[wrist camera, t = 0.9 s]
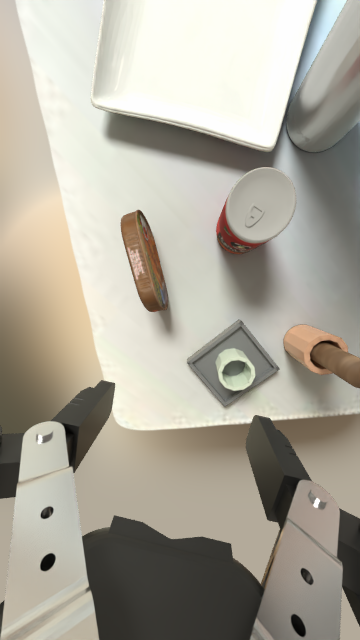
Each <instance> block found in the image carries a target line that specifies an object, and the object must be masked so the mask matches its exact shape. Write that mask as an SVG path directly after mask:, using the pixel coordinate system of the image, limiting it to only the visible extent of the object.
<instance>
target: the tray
mask: <svg viewBox="0 0 360 640" xmlns="http://www.w3.org/2000/svg"><path fill="white" fill-rule="evenodd" d="M232 348H235V349H238V350H240V351H243V352H244V354H245V355H246V356H247V357H248V359H249V360H250V362H251V363H252V364H253V366H254V368H255V378H254V380H253V382H252V384H251V385H250V386H248V387H247V388H245V389H244V390H236V391H233V390H231V389H228V388H225V387H224V385H223V384H222V383H221V382H220V381H219V377H218V374H217V370H216V363H215V362H216V360H217V357H218V355H219V354H220V353H222V352H223V351H224V350H226V349H232ZM187 363H188V364H189V366H190V367H191V368H192V369H193V370H194V371H195V373H196V374H197V375H198V376H199V377H200V378H201V380H202V381H203V382H204V383H205V384H206V385H207V387H208V388H209V389H210V390H211V391H212V392H213V394H214V395H215V396H216V397H217V398H218V399H219V401H220V402H221V403H222V404H223V405H224V406H227V405H228V404H230V403H231V402H232V401H234V400H235V399H237V398H238V397H240V396H241V395H243V394H244V393H246V392H247V391H248V390H250V389H251V388H253V387H254V386H256V385H257V384H259V383H260V382H262V381H263V380H264V379H266V378H267V377H269V376H270V375H272V374H273V373H275V372H276V371H278V370H279V367H278V366H277V365H276V364H275V362H274V361H273V360H272V359H271V357H270V356H269V355H268V354H267V352H266V351H265V350H264V349H263V347H262V346H261V345H260V344H259V342H258V341H257V340H256V339H255V337H254V336H253V335H252V334H251V332H250V331H249V330H248V329H247V327H246V326H245V325H244V323H243V322H242V321H241V320H240V319H239V320H238V321H236V322H235V323H234V324H232V325H231V326H230V327H228V328H227V329H226V330H224V331H223V332H222V333H221V334H219V335H218V336H217V337H215V338H214V339H213V340H211V341H210V342H209V343H207V344H206V345H205V346H204V347H202V348H201V349H200V350H198V351H197V352H196V353H194V354H193V355H192V356H190V357H189V358H188V359H187ZM244 367H245V362H243V361H240V360H235V361H230V362H229V363H228V364H226V365H225V366H224V369H223V371H222V372H223V373H224V374H226V375H228V376H235V375H238V374H240V373H241V372H242V371H243V369H244Z"/></svg>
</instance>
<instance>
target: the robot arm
mask: <svg viewBox="0 0 360 640" xmlns="http://www.w3.org/2000/svg"><path fill="white" fill-rule="evenodd" d="M286 121H287V130H288V133H289V136H290V138H291V140H292V141H293V142H294V144H295V145H296V146H298V147H299V148H300V149H302V150H305V151H307V152H321V151H324V150H327V149H329V148H330V147H332V146H334V145H335V144H336V143H337V142H338V141H339V140H341V139H342V138H343V137H344V136H345V135H346V134H347V133H348V132H349V131H350V130H351V129H352V128H353V127H354V126H355V125H356V124H357V123H358V122H359V121H360V0H347V1H346V3H345V5H344V7H343V9H342V11H341V12H340V14H339V16H338V18H337V20H336V21H335V23H334V25H333V27H332V29H331V31H330V32H329V34H328V36H327V38H326V40H325V41H324V43H323V45H322V47H321V49H320V51H319V52H318V54H317V56H316V58H315V60H314V61H313V63H312V65H311V67H310V69H309V71H308V72H307V74H306V76H305V78H304V79H303V81H302V83H301V85H300V87H299V89H298V90H297V92H296V94H295V96H294V98H293V100H292V102H291V104H290V106H289V109H288V112H287V120H286ZM114 390H115V383H112V382H107V381H103V380H101V381H100V382H99V383H98V384H97V386H96V387H95V388H91V387H89V388H87V389H84V390H82V391H81V392H80V393H79V394H78V395H76V397H75V398H74V399H72V400H71V401H70V403H69V404H67V405H66V406H65V408H63V409H62V410H61V411H60V412H59V413H58V414H57V415H56V416H55V417H54V418H53V419H52V420H51V421H50V422H43V423H40V424H37V425H35V426H33V427H31V428H30V429H29V430H28V431H27V432H26V433H20V434H2V427H1V426H0V499H1V498H10V497H16V500H15V509H14V518H13V527H12V537H11V547H10V555H9V565H8V574H7V583H6V592H5V600H4V601H3V602H2V603H1V604H0V640H340V620H341V619H340V618H341V596H342V588H343V590H344V592H345V594H346V597H347V599H348V601H349V603H350V606H351V608H352V610H353V612H354V615H355V617H356V619H357V622H358V624H359V626H360V519H359V518H357V517H355V516H353V515H351V514H349V513H347V512H345V511H343V510H341V509H340V508H339V507H338V505H337V503H336V501H335V500H334V498H333V497H332V496H331V495H330V494H329V493H328V492H327V491H326V490H325V489H324V488H322V487H321V486H319V485H318V484H316V483H314V482H312V480H311V479H310V477H309V475H308V474H307V472H306V470H305V468H304V467H303V465H302V463H301V461H300V460H299V458H298V457H297V456H296V453H295V451H294V449H292V446H291V444H290V442H289V441H288V439H287V438H286V437H285V436H284V435H283V434H282V433H281V432H280V431H279V430H276V428H275V426H274V425H273V423H272V421H271V419H270V418H267V417H262V416H258V415H255V416H254V417H253V420H252V423H251V426H250V430H249V433H248V436H247V440H246V450H247V454H248V457H249V460H250V464H251V467H252V471H253V474H254V477H255V480H256V484H257V487H258V490H259V494H260V497H261V500H262V504H263V507H264V510H265V514H266V517H267V520H269V521H273V522H278V524H279V526H280V530H279V533H278V536H277V538H276V541H275V544H274V547H273V550H272V553H271V556H270V559H269V562H268V565H267V568H266V570H265V573H264V576H263V579H262V582H261V584H260V583H259V581H258V580H257V579H256V578H255V577H254V576H253V574H252V573H251V572H250V571H249V570H248V569H246V568H245V567H244V566H243V565H242V564H241V563H239V562H238V561H237V560H235V559H234V558H233V556H232V549H231V544H230V543H225V542H221V541H217V540H213V539H209V538H205V537H194V538H183V539H170V538H168V537H166V536H164V535H163V534H161V533H159V532H157V531H156V530H154V529H153V528H151V527H149V526H148V525H146V524H144V523H143V522H139V521H135V520H131V519H127V518H123V517H119V516H114V518H113V520H112V523H111V527H108V528H102V529H98V530H95V531H92V532H90V533H88V534H86V535H84V536H82V534H81V527H80V519H79V512H78V505H77V497H76V490H75V482H74V475H73V473H75V471H76V469H77V468H78V466H79V464H80V463H81V461H82V460H83V458H84V456H85V455H86V453H87V452H88V450H89V448H90V447H91V445H92V443H93V442H94V440H95V439H96V437H97V435H98V434H99V432H100V430H101V429H102V427H103V426H104V424H105V423H106V421H107V419H108V418H109V415H110V413H111V409H112V404H113V397H114Z"/></svg>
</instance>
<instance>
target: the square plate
mask: <svg viewBox="0 0 360 640" xmlns="http://www.w3.org/2000/svg"><path fill="white" fill-rule="evenodd" d="M316 3H317V0H104V3H103V11H102V18H101V24H100V31H99V38H98V45H97V53H96V59H95V66H94V73H93V81H92V90H91V103H92V105H93V106H94V107H96V108H98V109H101V110H104V111H108V112H112V113H117V114H121V115H126V116H131V117H137V118H142V119H147V120H152V121H156V122H161V123H165V124H170V125H174V126H178V127H182V128H186V129H189V130H193V131H197V132H200V133H204V134H207V135H211V136H214V137H217V138H220V139H223V140H226V141H229V142H232V143H235V144H239V145H242V146H245V147H249V148H252V149H256V150H259V151H264V152H271V151H272V150H273V148H274V146H275V144H276V141H277V138H278V135H279V132H280V129H281V125H282V121H283V118H284V115H285V111H286V107H287V104H288V100H289V96H290V92H291V89H292V85H293V81H294V78H295V74H296V71H297V67H298V64H299V60H300V57H301V53H302V50H303V46H304V43H305V39H306V36H307V32H308V29H309V26H310V23H311V19H312V16H313V13H314V9H315V6H316Z"/></svg>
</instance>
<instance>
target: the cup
mask: <svg viewBox="0 0 360 640" xmlns="http://www.w3.org/2000/svg"><path fill="white" fill-rule="evenodd" d="M320 341H324V342H326V343H328V344H330V345H332V346H335V347H337V348H339V349H341V350H343V351H345V352H348V346H347V345H346V344H345V342H344V341H343V340H342V338H340V337H337V336H334V335H332V334H329V333H327V332H324V331H321V330H319V329H316V328H313V327H311V326H308V325H297V326H294V327H292V328H291V329H290V330H288V332H287V333H286V334H285V337H284V341H283V344H284V348H285V350H286V351H287V352H288V353H289V354H290V355H291V356H292V357H293V358H295V359H296V360H297V361H298V362H300V363H301V364H302V365H304V366H305V367H306V368H308V369H309V370H310V371H312V372H315V373H318V374H320V375H324V374H331V373H332V372H331V371H329V370H328V369H326V368H325V367H323V366H322V365H320V364H319V363H317V362H315V361H314V360H312V359H311V358H310V352H311V350H312V348H313V346H314V345H316V344H317V343H319V342H320Z"/></svg>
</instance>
